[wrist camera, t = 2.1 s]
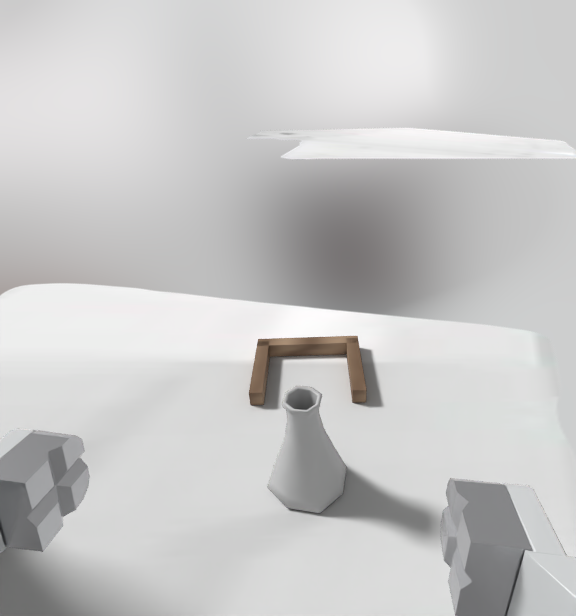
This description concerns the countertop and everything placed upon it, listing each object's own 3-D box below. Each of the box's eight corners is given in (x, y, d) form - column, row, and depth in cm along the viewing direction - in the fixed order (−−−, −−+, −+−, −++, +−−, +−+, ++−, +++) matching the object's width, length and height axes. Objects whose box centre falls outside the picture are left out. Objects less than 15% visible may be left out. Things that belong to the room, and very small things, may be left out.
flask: (359, 466, 42) (360, 385, 37) (324, 528, 37) (320, 444, 32) (294, 438, 45) (287, 361, 40) (253, 492, 40) (240, 411, 35)
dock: (250, 405, 50) (248, 392, 49) (259, 350, 59) (258, 339, 58) (366, 402, 49) (366, 390, 48) (357, 347, 58) (357, 335, 57)
